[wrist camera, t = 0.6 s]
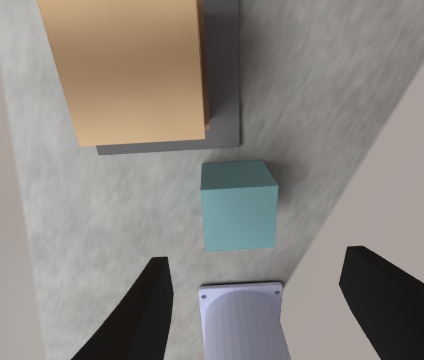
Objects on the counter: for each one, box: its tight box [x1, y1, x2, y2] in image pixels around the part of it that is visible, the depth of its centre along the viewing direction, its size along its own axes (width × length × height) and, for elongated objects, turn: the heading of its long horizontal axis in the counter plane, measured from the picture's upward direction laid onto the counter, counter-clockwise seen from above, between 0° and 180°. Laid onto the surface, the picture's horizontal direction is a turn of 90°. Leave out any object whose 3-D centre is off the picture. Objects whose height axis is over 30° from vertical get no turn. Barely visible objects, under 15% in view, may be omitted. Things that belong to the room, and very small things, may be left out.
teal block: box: [201, 160, 279, 251], centre depth 17 cm, size 4×4×4 cm
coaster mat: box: [96, 0, 239, 155], centre depth 15 cm, size 10×10×1 cm
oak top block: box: [37, 0, 205, 146], centre depth 11 cm, size 6×6×3 cm
